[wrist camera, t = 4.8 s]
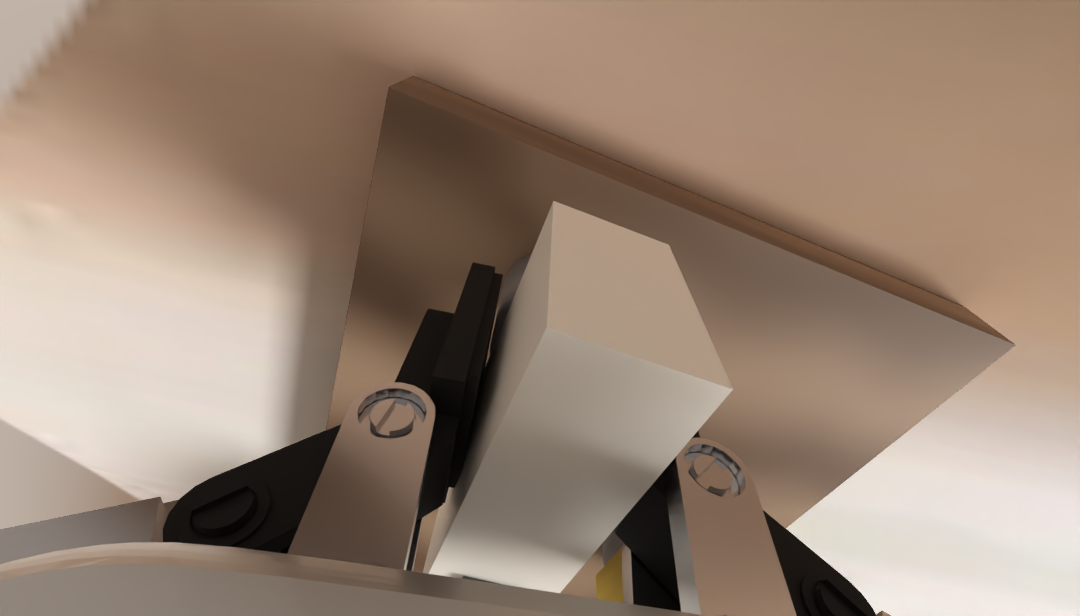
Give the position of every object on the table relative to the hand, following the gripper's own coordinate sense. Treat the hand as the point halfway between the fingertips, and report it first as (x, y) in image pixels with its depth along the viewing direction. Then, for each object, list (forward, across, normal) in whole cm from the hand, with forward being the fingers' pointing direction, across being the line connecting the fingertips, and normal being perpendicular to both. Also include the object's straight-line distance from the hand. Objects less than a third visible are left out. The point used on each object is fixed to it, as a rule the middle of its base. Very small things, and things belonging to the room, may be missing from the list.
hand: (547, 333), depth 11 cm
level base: (+4, -2, +10) cm, 11 cm away
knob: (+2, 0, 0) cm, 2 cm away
